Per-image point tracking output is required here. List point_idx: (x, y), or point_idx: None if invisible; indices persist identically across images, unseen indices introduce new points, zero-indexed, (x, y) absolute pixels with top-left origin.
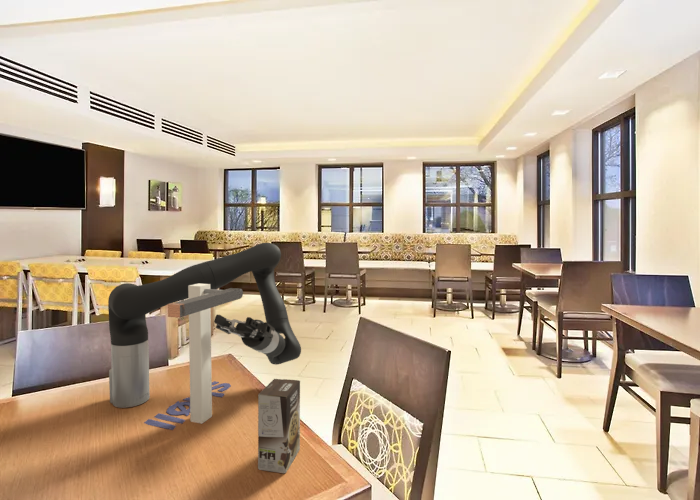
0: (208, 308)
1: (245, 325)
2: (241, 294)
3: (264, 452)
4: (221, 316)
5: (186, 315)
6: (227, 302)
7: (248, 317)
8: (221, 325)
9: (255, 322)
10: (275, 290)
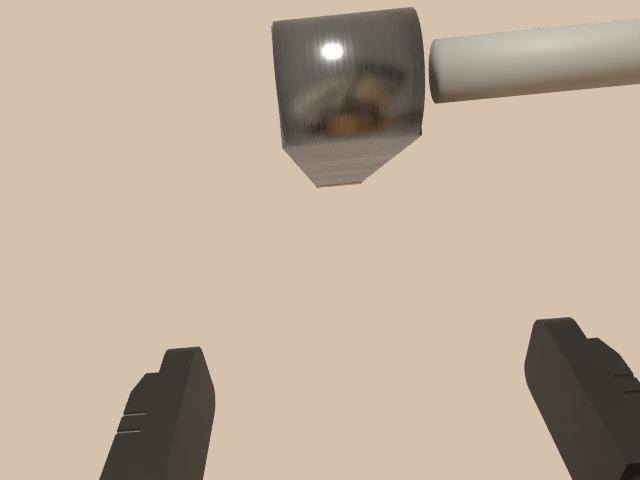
0: (310, 179)
1: (211, 403)
2: (279, 96)
3: None
4: (558, 357)
5: (316, 185)
6: (301, 167)
7: (182, 348)
8: (563, 460)
9: (118, 445)
10: None
